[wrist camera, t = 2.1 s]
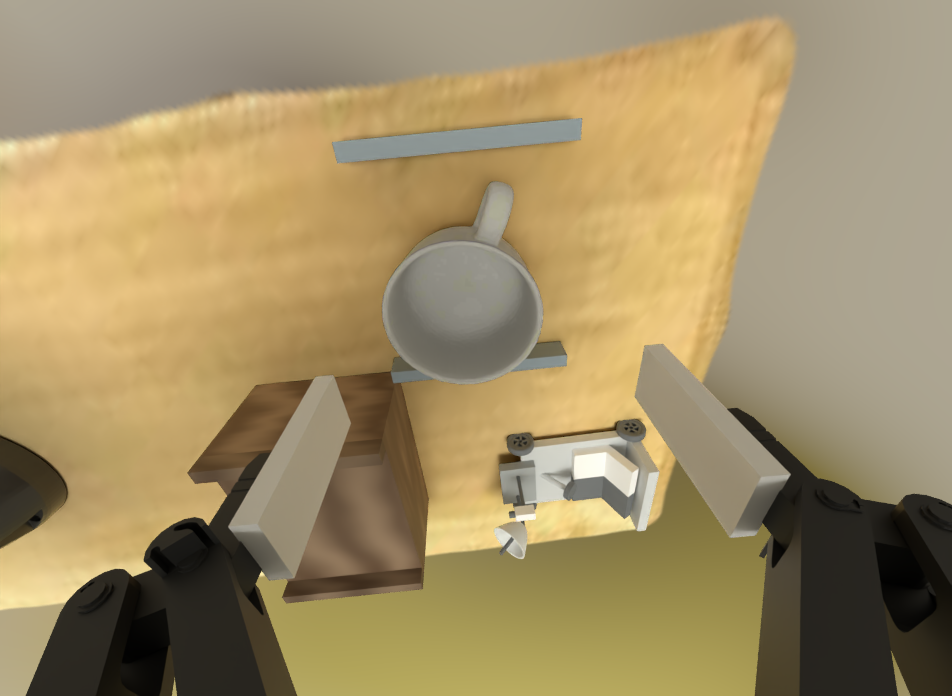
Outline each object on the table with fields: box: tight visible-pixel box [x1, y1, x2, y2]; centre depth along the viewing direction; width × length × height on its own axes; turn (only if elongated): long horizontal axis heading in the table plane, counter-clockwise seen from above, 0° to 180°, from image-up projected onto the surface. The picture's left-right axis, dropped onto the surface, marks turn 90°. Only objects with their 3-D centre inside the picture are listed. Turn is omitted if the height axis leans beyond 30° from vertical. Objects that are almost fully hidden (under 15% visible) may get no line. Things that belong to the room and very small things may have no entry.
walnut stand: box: [188, 372, 429, 603], centre depth 35 cm, size 14×20×10 cm
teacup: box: [382, 181, 543, 384], centre depth 26 cm, size 14×11×8 cm
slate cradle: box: [332, 118, 582, 383], centre depth 29 cm, size 16×19×2 cm
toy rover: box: [494, 419, 659, 559], centre depth 39 cm, size 18×10×12 cm
